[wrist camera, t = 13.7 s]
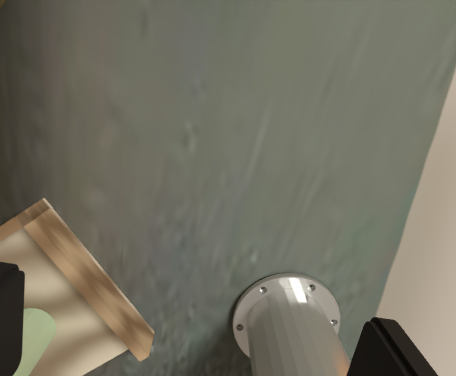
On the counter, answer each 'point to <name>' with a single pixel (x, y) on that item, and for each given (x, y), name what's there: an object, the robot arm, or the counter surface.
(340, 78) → the counter surface
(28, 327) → the candle
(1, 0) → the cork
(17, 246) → the wooden tray
